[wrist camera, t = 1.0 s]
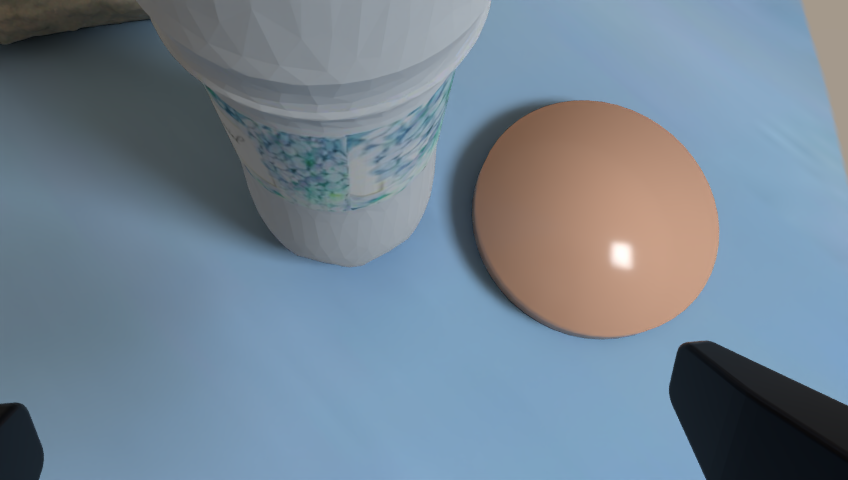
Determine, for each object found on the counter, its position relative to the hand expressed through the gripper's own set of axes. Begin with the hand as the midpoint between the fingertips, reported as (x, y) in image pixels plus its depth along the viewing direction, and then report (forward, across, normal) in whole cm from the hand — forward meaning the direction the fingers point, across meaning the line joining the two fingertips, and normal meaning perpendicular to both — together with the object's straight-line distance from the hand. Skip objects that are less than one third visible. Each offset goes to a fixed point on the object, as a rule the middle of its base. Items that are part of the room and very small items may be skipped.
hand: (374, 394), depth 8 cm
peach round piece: (+14, -9, +4) cm, 17 cm away
